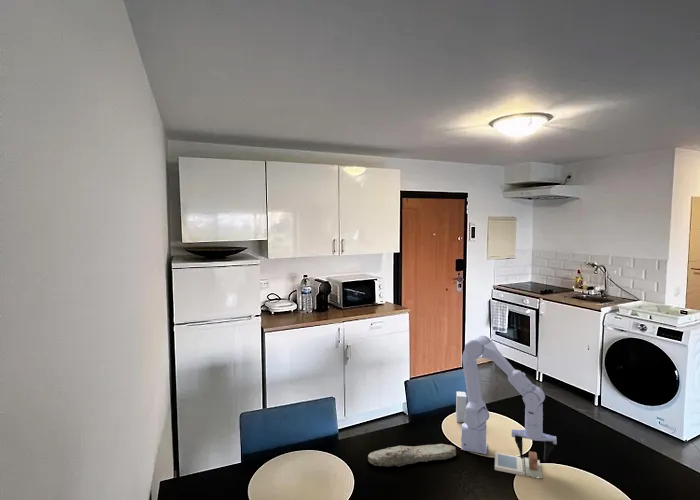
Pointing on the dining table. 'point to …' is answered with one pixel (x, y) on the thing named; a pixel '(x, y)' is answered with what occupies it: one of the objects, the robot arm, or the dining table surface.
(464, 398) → the skincare box
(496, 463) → the ticket board
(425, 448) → the long grey stone
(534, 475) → the stub
